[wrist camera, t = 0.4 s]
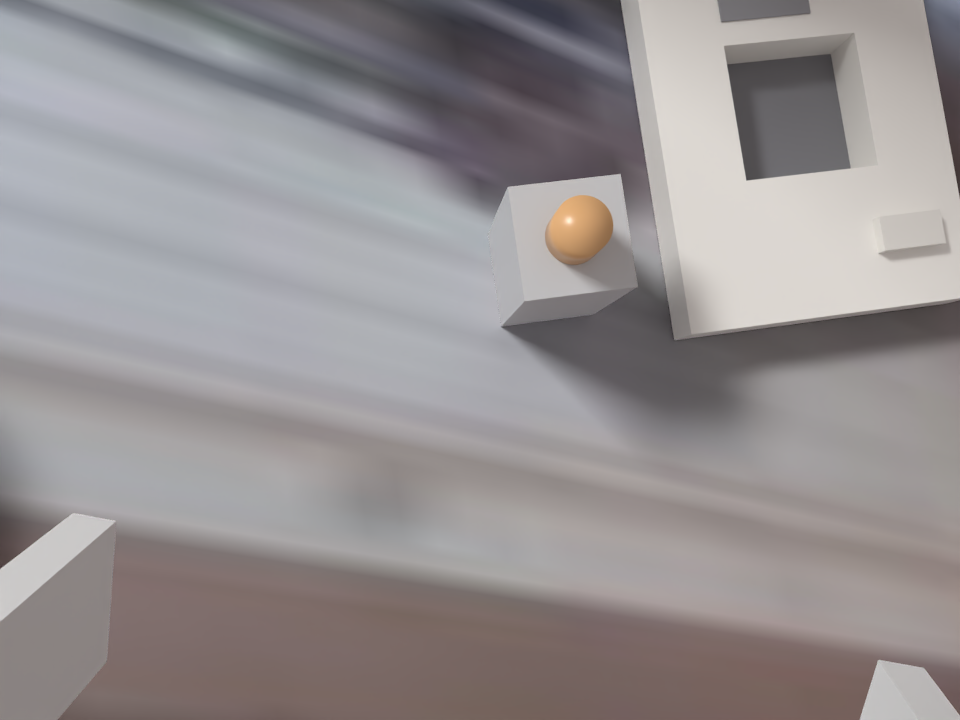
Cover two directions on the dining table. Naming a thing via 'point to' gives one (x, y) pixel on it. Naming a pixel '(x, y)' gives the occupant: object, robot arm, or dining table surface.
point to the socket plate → (794, 159)
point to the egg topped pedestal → (561, 249)
